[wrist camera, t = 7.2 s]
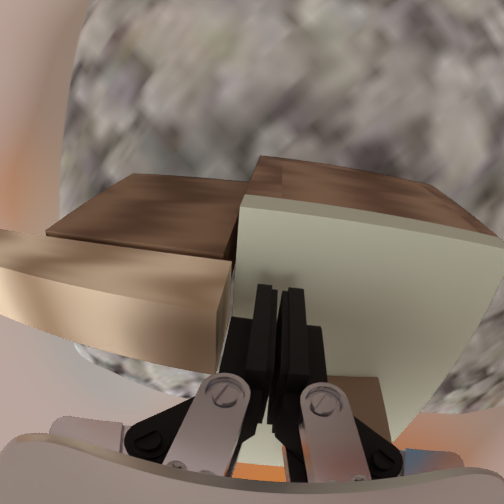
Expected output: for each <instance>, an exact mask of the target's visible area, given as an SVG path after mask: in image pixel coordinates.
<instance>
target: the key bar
mask: <svg viewBox="0 0 504 504" xmlns="http://www.w3.org/2000/svg"><path fill="white" fill-rule="evenodd" d="M231 267H232V261H225V260H217V259H210V258H202V257H194V256H186V255H179V254H171V253H164V252H156V251H149V250H141V249H134V248H127V247H119V246H112V245H105V244H98V243H91V242H84V241H77V240H70V239H63V238H56V237H49V236H42V235H35V234H28V233H22V232H15V231H8V230H1V229H0V314H1V315H3V316H6V317H8V318H11V319H13V320H16V321H18V322H20V323H23V324H26V325H28V326H31V327H33V328H36V329H39V330H42V331H45V332H47V333H50V334H53V335H56V336H59V337H62V338H65V339H68V340H71V341H74V342H77V343H80V344H83V345H87V346H90V347H93V348H97V349H100V350H104V351H107V352H111V353H115V354H119V355H122V356H126V357H130V358H134V359H138V360H142V361H147V362H151V363H155V364H160V365H165V366H169V367H174V368H179V369H184V370H189V371H195V372H200V373H206V374H212V375H214V374H216V371H217V367H218V362H219V358H220V354H221V350H222V346H223V342H224V337H225V333H226V329H227V325H228V318H229V300H230V283H231Z"/></svg>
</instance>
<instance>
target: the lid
mask: <svg viewBox="0 0 504 504" xmlns="http://www.w3.org/2000/svg"><path fill="white" fill-rule="evenodd" d="M503 276H504V242H503V241H502V240H501V239H500V238H499V237H495V236H491V235H486V234H482V233H478V232H473V231H469V230H464V229H460V228H455V227H450V226H445V225H441V224H436V223H431V222H426V221H420V220H415V219H410V218H405V217H399V216H394V215H388V214H382V213H376V212H370V211H364V210H358V209H352V208H346V207H339V206H332V205H326V204H319V203H311V202H304V201H297V200H289V199H281V198H273V197H265V196H256V195H247V194H245V195H244V197H243V200H242V202H241V205H240V211H239V224H238V238H237V252H236V266H235V280H234V295H233V310H232V316H234V317H241V318H249V319H253V313H254V306H255V299H256V291H257V284H267V285H272V289H275V290H278V301H277V317H278V312H279V306H280V300H281V295H282V290H284V291H288V288H289V287H292V288H301V289H304V296H305V308H306V321H307V325H313V326H321V328H322V335H323V343H324V352H325V361H326V370H327V380H328V383H330V384H333V385H335V386H337V387H339V388H340V389H341V390H342V391H343V392H344V393H345V395H346V396H347V398H348V401H349V404H350V408H351V411H352V414H353V416H355V417H356V418H357V419H359V420H360V421H361V422H363V423H364V424H365V425H367V426H368V427H369V428H371V429H372V430H373V431H375V432H376V433H377V434H379V435H380V436H382V437H383V438H384V439H386V440H387V441H388V442H390V443H391V444H392V442H393V441H394V440H395V439H396V438H397V437H398V436H399V435H400V434H401V433H402V431H403V430H404V429H405V428H406V427H407V426H408V425H409V424H410V422H411V421H412V420H413V419H414V418H415V416H416V415H417V414H418V413H419V412H420V410H421V409H422V408H423V407H424V405H425V404H426V403H427V402H428V400H429V399H430V398H431V397H432V395H433V394H434V393H435V391H436V390H437V389H438V387H439V386H440V385H441V383H442V382H443V380H444V379H445V378H446V376H447V375H448V373H449V372H450V370H451V369H452V368H453V366H454V365H455V363H456V362H457V360H458V359H459V357H460V355H461V354H462V352H463V351H464V349H465V348H466V346H467V344H468V343H469V341H470V339H471V338H472V336H473V334H474V333H475V331H476V329H477V328H478V326H479V324H480V322H481V320H482V319H483V317H484V315H485V313H486V311H487V309H488V307H489V305H490V303H491V302H492V300H493V298H494V296H495V293H496V291H497V289H498V287H499V285H500V283H501V281H502V279H503ZM268 399H269V396H268ZM267 412H268V401H267V405H266V409H265V413H264V417H263V422H262V424H259V423H258V424H257V428H256V433H255V435H254V436H252V437H251V438H249V439H248V440H246V441H244V442H243V445H242V448H241V451H240V454H239V457H238V460H237V462H242V463H250V464H260V465H271V466H284V461H283V454H282V443H281V442H280V441H279V440H278V439H277V438H275V433H272V425H269V424H267Z"/></svg>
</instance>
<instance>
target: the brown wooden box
mask: <svg viewBox="0 0 504 504" xmlns="http://www.w3.org/2000/svg"><path fill="white" fill-rule="evenodd" d="M245 194H247V195H256V196H265V197H273V198H281V199H289V200H297V201H304V202H311V203H319V204H326V205H332V206H339V207H346V208H352V209H358V210H364V211H370V212H376V213H382V214H388V215H394V216H399V217H405V218H410V219H415V220H420V221H426V222H431V223H436V224H441V225H445V226H450V227H455V228H460V229H464V230H469V231H473V232H478V233H482V234H486V235H491V236H495V237H498V236H497V235H495V234H494V233H493V232H492V231H491V230H490V229H488V228H487V227H486V226H485V225H484V224H482V223H481V222H480V221H479V220H477V219H476V218H475V217H474V216H472V215H471V214H470V213H469V212H467V211H466V210H465V209H463V208H462V207H461V206H460V205H458V204H457V203H456V202H454V201H453V200H452V199H450V198H449V197H447V196H446V195H445V194H443V193H442V192H441V191H439V190H438V189H436V188H435V187H433V186H432V185H427V184H423V183H419V182H415V181H411V180H406V179H402V178H397V177H393V176H388V175H383V174H378V173H373V172H368V171H363V170H357V169H352V168H346V167H340V166H334V165H328V164H322V163H315V162H308V161H301V160H294V159H286V158H278V157H269V156H260V158H259V160H258V163H257V165H256V168H255V170H254V173H253V175H252V177H251V180H250V182H242V181H232V180H221V179H210V178H198V177H185V176H170V175H153V174H132V175H130V176H128V177H126V178H125V179H123V180H121V181H120V182H118V183H116V184H115V185H113V186H111V187H110V188H108V189H106V190H105V191H103V192H102V193H100V194H98V195H97V196H95V197H94V198H92V199H91V200H89V201H88V202H86V203H84V204H83V205H81V206H80V207H78V208H77V209H75V210H74V211H72V212H71V213H70V214H68V215H67V216H65V217H64V218H62V219H61V220H59V221H58V222H57V223H55V224H54V225H52V226H51V227H50V228H48V229H47V230H46V236H49V237H56V238H63V239H70V240H77V241H84V242H91V243H98V244H105V245H112V246H119V247H127V248H134V249H141V250H149V251H156V252H164V253H171V254H179V255H186V256H194V257H202V258H210V259H217V260H225V261H232V267H231V276H232V272H233V269H234V265H235V262H236V252H237V238H238V224H239V211H240V205H241V202H242V200H243V197H244V195H245Z"/></svg>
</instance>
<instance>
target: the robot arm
mask: <svg viewBox="0 0 504 504" xmlns="http://www.w3.org/2000/svg"><path fill="white" fill-rule="evenodd" d="M277 301H278V290H275V289H272V285H267V284H257V291H256V299H255V306H254V313H253V319H249V318H241V317H234V316H232V318H231V321H230V326H229V330H228V335H227V339H226V344H225V348H224V352H223V357H222V361H221V366H220V370H219V373H217V374H214V375H211V376H209V377H208V378H206V379H205V380H204V381H203V382H202V384H201V385H200V387H199V389H198V391H197V394H196V396H194V397H192V398H190V399H188V400H186V401H184V402H182V403H180V404H178V405H176V406H174V407H172V408H169V409H167V410H165V411H163V412H161V413H159V414H157V415H154V416H152V417H150V418H148V419H145V420H143V421H141V422H138V423H136V424H135V425H133V426H124V425H123V424H122V423H119V422H109V421H100V420H92V419H85V418H78V417H72V416H63V417H61V418H58V419H57V420H56V421H54V422H53V424H52V426H51V428H50V431H49V434H47V433H31V434H24V435H20V436H17V437H15V438H14V439H12V440H11V441H10V442H9V443H8V444H7V445H6V446H5V447H4V448H3V450H2V451H1V453H0V504H504V478H503V477H502V476H501V475H499V474H498V473H496V472H494V471H491V470H487V469H482V468H476V467H464V463H463V460H462V459H461V457H460V456H459V455H458V454H456V453H453V452H445V451H429V450H417V449H405V450H404V451H401V450H398V449H397V448H396V447H395V446H394V445H393V444H391V443H390V442H388V441H387V440H386V439H384V438H383V437H382V436H380V435H379V434H377V433H376V432H375V431H373V430H372V429H371V428H369V427H368V426H367V425H365V424H364V423H363V422H361V421H360V420H359V419H357V418H356V417H355V416H353V414H352V411H351V408H350V404H349V401H348V398H347V396H346V395H345V393H344V392H343V391H342V390H341V389H340V388H339V387H337V386H335V385H333V384H330V383H328V380H327V370H326V361H325V352H324V343H323V335H322V328H321V326H313V325H307V321H306V308H305V296H304V289H301V288H292V287H289V288H288V291H284V290H282V295H281V300H280V306H279V312H278V317H277ZM268 396H269V399H268ZM267 401H268V412H267V424H269V425H272V433H275V438H277V439H278V440H279V441H280V442H281V443H282V454H283V461H284V469H285V476H286V482H271V481H259V480H248V479H239V478H232V475H233V472H234V469H235V466H236V463H237V460H238V457H239V454H240V451H241V448H242V445H243V442H244V441H246V440H248V439H249V438H251V437H252V436H254V435H255V433H256V428H257V424H258V423H259V424H262V422H263V417H264V413H265V409H266V405H267Z"/></svg>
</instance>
